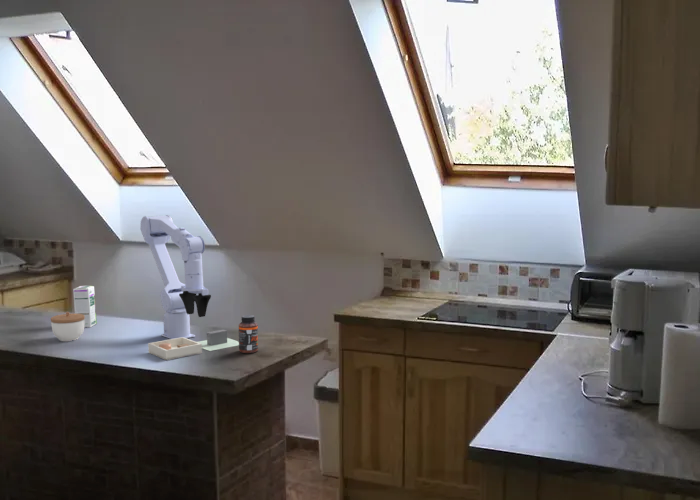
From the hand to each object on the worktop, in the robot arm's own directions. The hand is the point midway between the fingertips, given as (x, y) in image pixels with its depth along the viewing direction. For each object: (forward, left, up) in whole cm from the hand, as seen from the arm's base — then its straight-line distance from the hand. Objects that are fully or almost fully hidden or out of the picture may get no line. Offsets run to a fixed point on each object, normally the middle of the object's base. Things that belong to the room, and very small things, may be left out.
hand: (196, 315), depth 235 cm
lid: (+5, +5, -10) cm, 12 cm away
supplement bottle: (+20, +7, -10) cm, 23 cm away
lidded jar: (-35, -29, -10) cm, 46 cm away
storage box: (+6, -11, -9) cm, 16 cm away
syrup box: (-51, -17, -10) cm, 55 cm away
